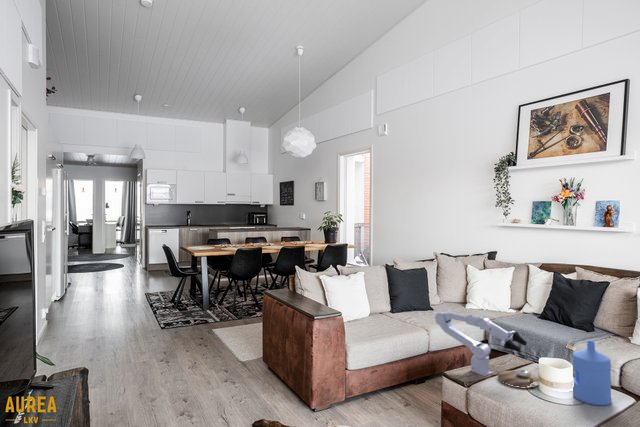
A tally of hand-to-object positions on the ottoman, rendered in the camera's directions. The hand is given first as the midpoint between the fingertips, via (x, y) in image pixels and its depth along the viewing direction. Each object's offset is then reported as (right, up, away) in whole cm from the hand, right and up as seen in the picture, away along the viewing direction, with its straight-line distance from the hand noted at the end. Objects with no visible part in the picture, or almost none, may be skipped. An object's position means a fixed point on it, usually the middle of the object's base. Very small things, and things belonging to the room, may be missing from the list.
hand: (522, 347), depth 217 cm
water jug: (+24, -19, -19) cm, 36 cm away
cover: (+3, -18, +6) cm, 19 cm away
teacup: (+24, -19, +2) cm, 31 cm away
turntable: (-1, -19, +3) cm, 20 cm away
